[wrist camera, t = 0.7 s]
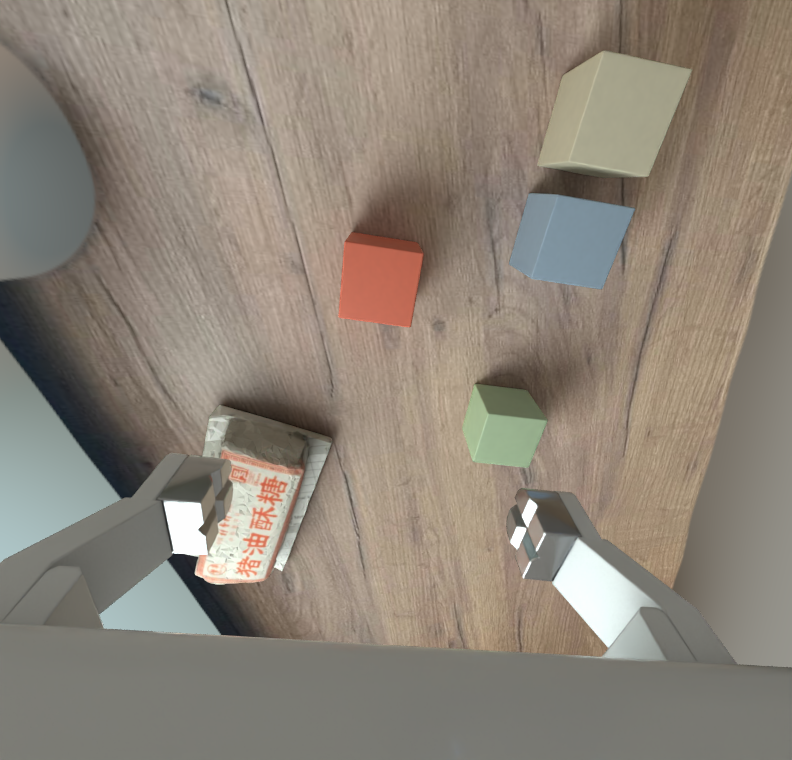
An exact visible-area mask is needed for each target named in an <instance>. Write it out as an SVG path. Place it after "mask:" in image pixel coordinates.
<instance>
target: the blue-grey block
mask: <svg viewBox="0 0 792 760" xmlns="http://www.w3.org/2000/svg"><path fill="white" fill-rule="evenodd" d="M634 211H635V208H632V207H627V206H621V205H615V204H610V203H604V202H598V201H593V200H587V199H581V198H576V197H570V196H564V195H559V194H542V193H529V195H528V199H527V202H526V206H525V209H524V213H523V216H522V220H521V223H520V227H519V230H518V234H517V237H516V241H515V244H514V248H513V251H512V255H511V258H510V262H509V264H510V265H511V266H513V267H514V268H516V269H517V270H519V271H520V272H522V273H524V274H525V275H527V276H528V277H530V278H531V279H537V280H543V281H550V282H556V283H563V284H569V285H576V286H582V287H589V288H595V289H602V288H603V286H604V283H605V281H606V279H607V276H608V274H609V271H610V269H611V267H612V264H613V262H614V259H615V257H616V254H617V252H618V250H619V247H620V245H621V242H622V240H623V237H624V235H625V233H626V230H627V228H628V225H629V223H630V220H631V218H632V216H633V213H634Z"/></svg>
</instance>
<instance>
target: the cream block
mask: <svg viewBox="0 0 792 760" xmlns="http://www.w3.org/2000/svg"><path fill="white" fill-rule="evenodd" d="M691 72H692V69H689V68H685V67H680V66H675V65H671V64H666V63H662V62H657V61H652V60H648V59H643V58H639V57H634V56H629V55H625V54H620V53H616V52H611V51H606V50H603V51H602V52H600V53H598V54H597V55H595V56H594V57H592V58H590V59H589V60H587V61H585V62H584V63H582V64H581V65H579V66H577V67H576V68H574V69H572V70H571V71H569V72H568V73H566V74H564V75H563V76H562V80H561V83H560V87H559V90H558V94H557V97H556V101H555V104H554V108H553V111H552V115H551V118H550V122H549V125H548V129H547V132H546V136H545V139H544V143H543V146H542V150H541V153H540V157H539V160H538V164H537V166H541V167H546V168H551V169H557V170H562V171H568V172H573V173H579V174H584V175H590V176H595V177H601V178H622V177H648V176H649V174H650V172H651V169H652V167H653V164H654V162H655V160H656V157H657V155H658V152H659V150H660V147H661V145H662V143H663V140H664V138H665V135H666V133H667V130H668V128H669V126H670V123H671V121H672V118H673V116H674V113H675V111H676V109H677V106H678V104H679V101H680V99H681V96H682V94H683V92H684V89H685V87H686V84H687V82H688V79H689V77H690V75H691Z"/></svg>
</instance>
